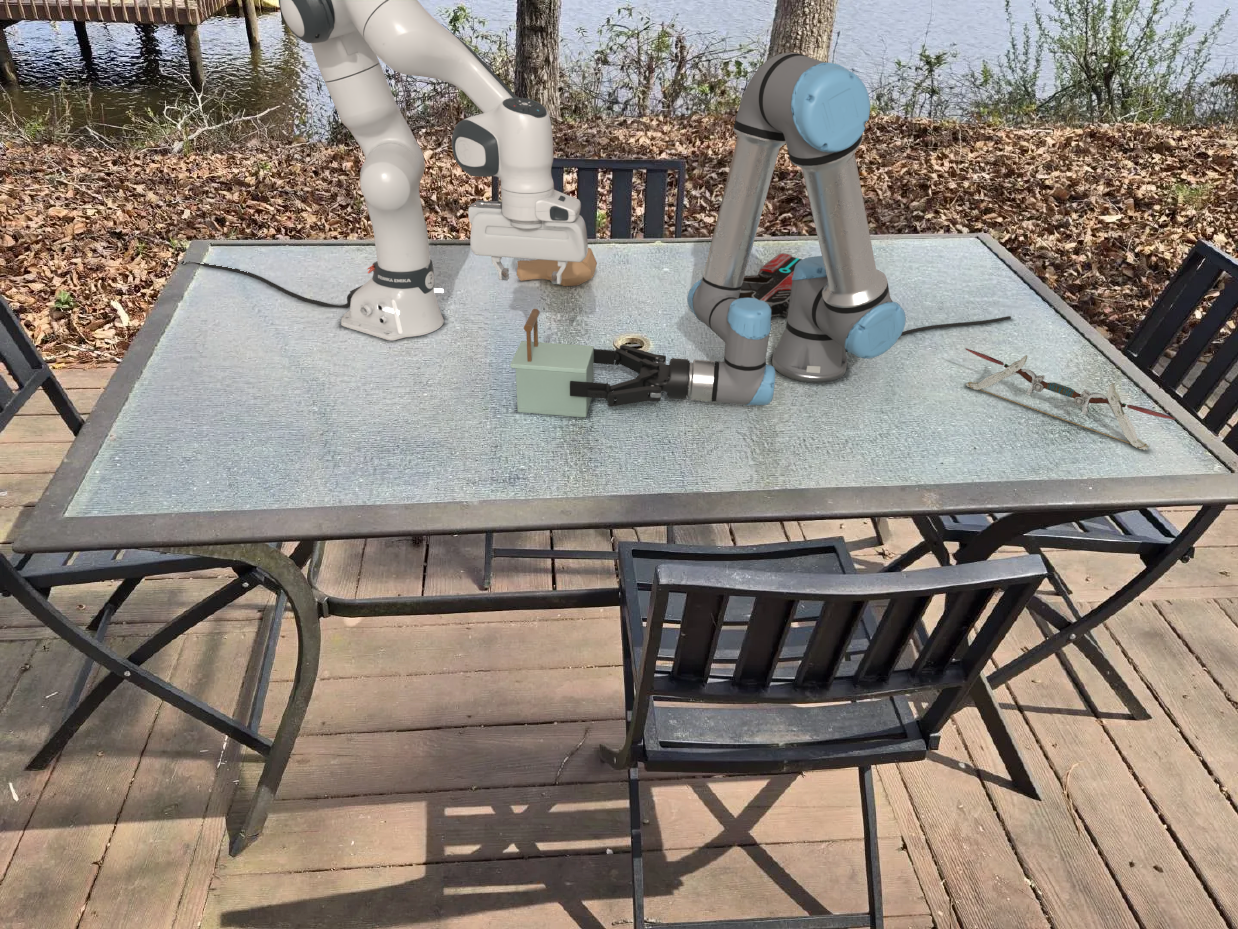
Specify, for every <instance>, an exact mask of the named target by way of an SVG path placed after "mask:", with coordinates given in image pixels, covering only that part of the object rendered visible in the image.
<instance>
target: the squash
mask: <svg viewBox="0 0 1238 929" xmlns="http://www.w3.org/2000/svg"><path fill="white" fill-rule="evenodd" d="M516 264H517V269H516V276H517V278H518V279H519V281H520V282H523V281H528V280H545V281H551V282H552V274H553V271H556V272H558V270H559V269H560V267H561V266H558V261H554V260H539V259H526V260H525V259H521V260H518V261H517V263H516ZM597 265H598V261H597V260H596V258H595V254H594V252H593V250H592V248H591V247H588V253H587V256H586V258H585V259H584V260H583V261H582V262H569V261H568V263H567V265H566V267H565V269H564V271H563V272H562V274H561V279H562V280H561V284H559V286H563V287H577V286H580V285H582V284H584V283H585V282H588V281H590V280H591V279H593V277H594V276H595V272H596V270H597Z"/></svg>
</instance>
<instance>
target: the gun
mask: <svg viewBox="0 0 1238 929" xmlns="http://www.w3.org/2000/svg"><path fill="white" fill-rule="evenodd" d="M800 260H802V258H799V257H795V256H793V255H792V254H791V253H784V252H780V253H778V254H777V255H775V256H774V257H773V258H771V259H770V260H768V261H767V262H766V263H765V264H763V265H762V266H761V267H760V269H759V271H758V273H757V274H756V275H753V274H752V275H751V274H750V275H745V276H744V279H743V283H742V286H741V291H740V294H739V298H738V299H740V298H756V299H758V300H760V301H764V302H766V303H767V304H768V305H769V306H770V308H771V318H772V317H777V316H780V317H784V318H787V315H788V308H789V301H790V294H791V287H792V277H793V273H794V269H795V266H796V264H797V263H798V262H799V261H800Z"/></svg>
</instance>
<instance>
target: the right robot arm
mask: <svg viewBox="0 0 1238 929" xmlns="http://www.w3.org/2000/svg"><path fill="white" fill-rule="evenodd" d="M739 103H740V104H739V106H738V110H737V113H736V117H735V121H734V125H733V129H732V130H733V132H734V133H735V135H736V141H735V145H734V149H733V153H732V158H731V162H730V166H729V169H728V170H729V171H728V174H727V178H726V182H725V186H724V190H723V194H722V198H721V201H720V206H719V210H718V213H717V218H716V221H715V227H714V230H713V234H712V238H711V242H710V247H709V250H708V255H707V258H706V263H705V266H704V270H703V273H702V274H703V275H702V279H699V280H696V282H694V284H693V285H692V286H691V288H690V289H689V291H688V293H687V298H686V299H687V306H688V308H689V310H690V312H691V313H692V314H693V315H694V316H695V317H696V319H698V321H700V322H701V323H703V324H704V325H705V326H706V327H707V328H709V329H710V330H711V331H712V332H713V333H714V334H715V335H716V336H717V337H718V338H719V339H721V340H722V342H724V344H725V345H724V354H723V361H719V360H708V359H707V360H706V359H694V360H693V361H692V362H691V361H690V360H689V359H688V358H678V357H676V358H675V357H671V358H670V360H669V364H667V356H666V355H664V354H656V353H652V352H649V351H647V350H643V349H639V348H635V347H633V346H628V345H626V344H620V345H619V348H615V350H614V349H601V348H594V364H598V365H610V366H619V365H621V366H623V367H625V368H627V369H628V370H631V371H633V372H635V373H637V374H638V375H636V377H635V378H632V379H629V380H624V381H621V382H618V383H614V384H609V383H608V382H606V383H605V382H594V383H593V382H580V381H570V396H577V397H590V398H592V399H602V400H605V401H606V402H607V406H608V407H610V408H613V407H619V406H626V405H633V404H639V403H645V402H660V401H662V393H665V392H666V396H667V398H668V399H671V400H683V401H685V400H686V399H687V398H688V397H689V399H690V400H691V401H701V402H702V403H705V402H712V403H721V404H722V403H723V404H734V405H745V406H767V405H769V404H770V403H771V402H772V401H773V398H774V393H775V385H776V371H777V372H778V373H779V374H780V375H782V376H784V377H786V378H789V379H791V380H794V381H798V382H802V383H808V384H809V383H810V384H824V383H830V382H835V381H837V380H839V379H841V378H842V377H844V376H845V374H846V372H847V367H848V357H847V353H849V354H851V355H854V356H855V357H857V358H860V359H864V360H865V359H866V360H867V359H869V360H870V359H873V358H877V357H879V356H881V355H883V354H884V353H886V352H888V351H889V350H890V349H891V348H892V347H893V346H895V344H896V343H898V342H897V341H898V340H899V338H900V337H901V336H906V335H908V334H913V333H916V332H917V333H918V332H922V331H927V330H934V329H941V328H951V327H962V326H972V325H973V326H974V325H984V324H990V323H996V322H1002V321H1008V320H1011V318H1012V317H1011V315H1007V316H1003V317H997V318H991V319H984V320H974V321H963V322H962V321H961V322H953V323H943V324H942V323H941V324H933V325H926V326H922V327H916V328H915V327H914V328H912V329H911V328H910V329H908V330H905V327H906V321H907V320H906V319H907V316H906V311H905V310H904V309H903V307H902V306H901V305H900V304H899V302H896V301H893V299H892V298H891V293H890V288H889V281H888V278H887V276H886V274H885V273H884V272H883V271H882V270H879V269H877V266H876V261H875V254H874V250H873V245H872V240H871V233H870V229H869V222H868V218H867V217H868V216H867V213H866V207H865V201H864V195H863V191H862V186H861V180H860V173H859V169H858V163H857V158H856V152H857V150H858V149H859V148H860V147H861V145H862V142H863V136H862V135H863V134H864V132H865V130H866V126H865V125H866V123H867V122H868V121H869V119H870V113H871V101H870V94H869V91H868V89H867V87H866V85H865V83H864V81H862V79H861V78H860V77H859V76H858V75H857V74H856V73H854V72H853V71H851V70H849V69H848V68H845V67H844V66H843V65H840V64H838V63H832V62H826V61H822V60H819V59H816V58H813V57H811V56H807V55H805V54H803V53H798V52H783V53H780V54H776V55H775V56H773V57H770V58H769V59H768V60H766V61H765V62H763V64H761V65H760V66H759V68H758V69H757V70H756V71H755V73H754V74H753V76H752V77H751V79H750V80H749V81H748V84H747V86H746V88H745V90H744V93H743V95H742V98H741V101H740V102H739ZM785 145H786V149H787V152H788V158H789V160H790V163H791V164H793V165H794V166H795V167H798V168H800V169H801V172H802V175H803V179H804V183H805V188H806V192H807V197H808V202H809V206H810V210H811V214H812V219H813V223H814V228H815V231H816V236H817V240H818V245H819V249H820V253H821V255H817V256H816V255H815V256H809V257H805V258H803V259H802V258H801V259H802V260H800V261H799V262H798V263H797V264H796V266H795V269H794V273H793V277H792V287H791V294H790V301H789V308H788V310H787V311H788V315H787V317H786V324H785V329H784V331H783V333H782V334H781V337H780V339H779V341H778V343H777V345H776V347H775V348H774V351H773V353H772V360H771V364H772V365H771V364H767V361H766V360H767V353H768V347H769V340H770V333H771V330H772V317H771V308H770V306H769V305H768V304H767V303H766V302H764V301H760V300H758V299H756V298H740V299H738V298H739V294H740V291H741V286H742V283H743V279H744V276H746V271H747V267H748V265H749V261H750V257H751V253H752V250H753V248H754V247H753V246H754V243H755V239H756V236H757V232H758V228H759V226H760V222H761V218H762V214H763V211H764V207H765V204H766V199H767V196H768V192H769V189H770V185H771V181H772V179H773V174H774V171H775V167H776V163H777V160H778V156H779V153H780V149H781V147H783V146H785Z"/></svg>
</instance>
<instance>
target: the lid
mask: <svg viewBox="0 0 1238 929" xmlns="http://www.w3.org/2000/svg"><path fill="white" fill-rule="evenodd" d="M539 316H540V310H539V309H538V308H532V309H531V311H530V313H529V316H528V318H527V320H526V321H525V323H524V325H523V330H524V332H526V335H525V336H526V340H521V341H520V343H519V345H518V347H517V350H516V351H515V353H514V356H513V358H512V359H511V362H510V363H509V364H510V369H516V368H519V369H532V370H546V371H559V372H572V373H587V370H588V367H589V364H590V360H591V357H592V354H593V351H594V349H595V346H594V345H584V344H568V343H554V342H540V341H539V326H538V325H539V321H538V320H539V319H538V318H539ZM532 331H533V341H532Z"/></svg>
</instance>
